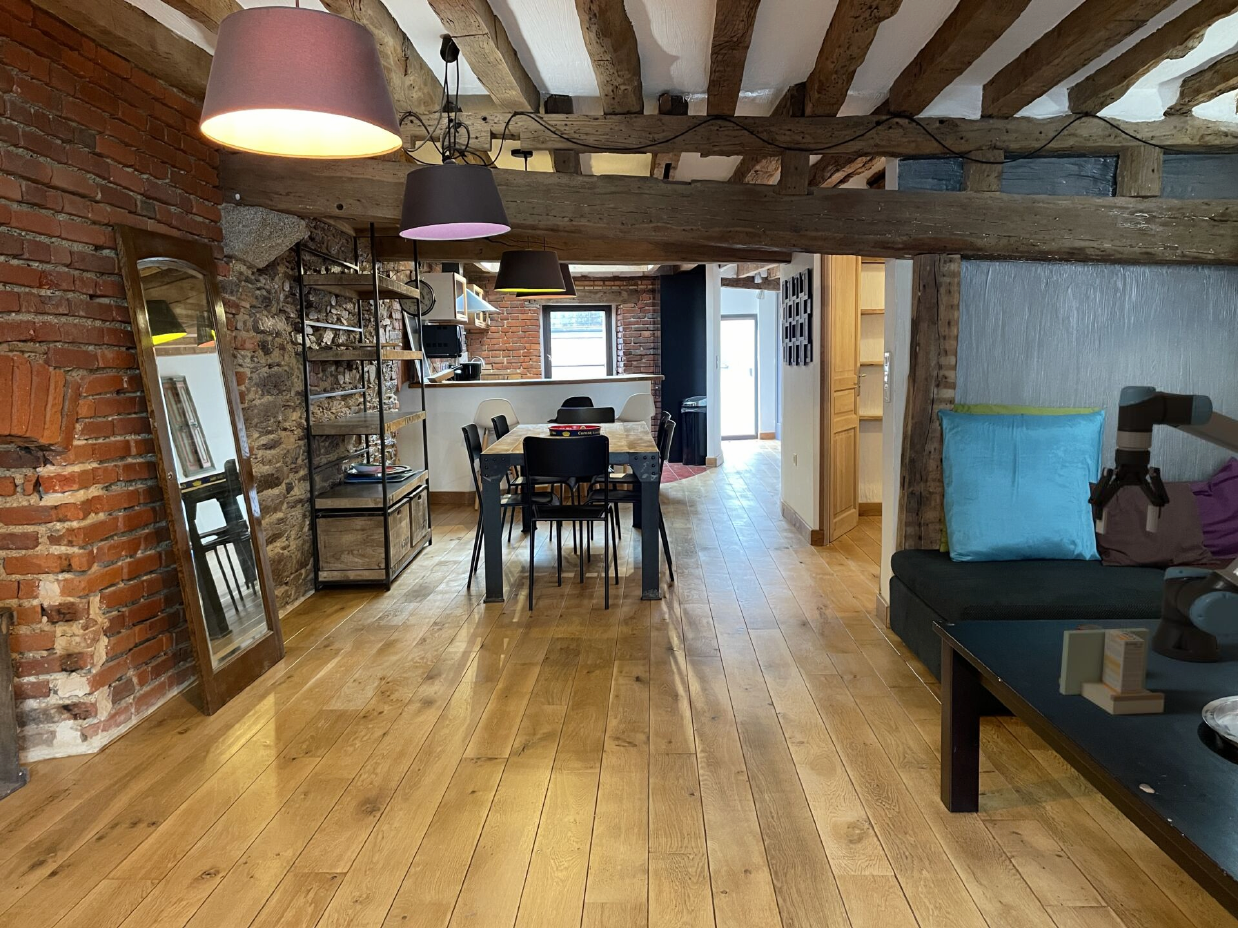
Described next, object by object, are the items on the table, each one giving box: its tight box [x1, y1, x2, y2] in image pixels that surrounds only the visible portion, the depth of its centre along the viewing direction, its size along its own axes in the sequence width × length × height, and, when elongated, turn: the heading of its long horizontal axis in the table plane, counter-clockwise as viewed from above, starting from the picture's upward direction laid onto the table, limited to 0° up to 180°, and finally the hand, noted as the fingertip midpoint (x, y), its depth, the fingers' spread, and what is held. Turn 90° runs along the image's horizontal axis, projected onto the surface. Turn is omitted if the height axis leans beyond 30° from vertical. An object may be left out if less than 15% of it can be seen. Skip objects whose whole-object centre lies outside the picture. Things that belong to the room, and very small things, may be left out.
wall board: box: [1058, 627, 1166, 716], centre depth 192 cm, size 20×18×15 cm
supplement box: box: [1102, 628, 1145, 694], centre depth 189 cm, size 8×5×13 cm, turn 177°
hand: (1126, 532), depth 208 cm, fingers open, 13 cm apart
